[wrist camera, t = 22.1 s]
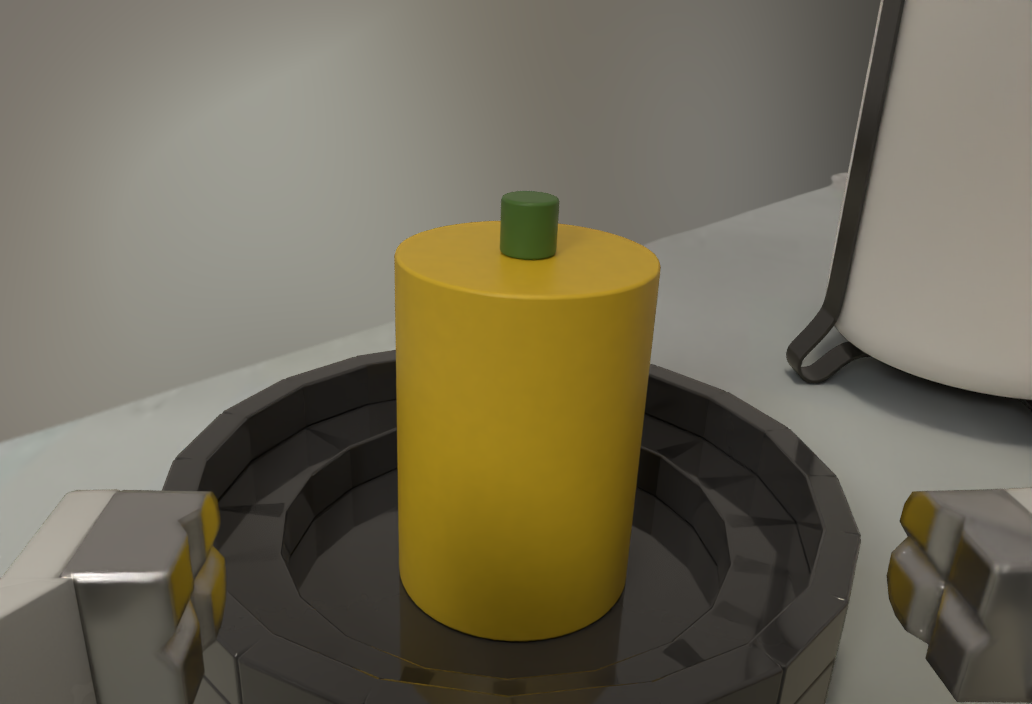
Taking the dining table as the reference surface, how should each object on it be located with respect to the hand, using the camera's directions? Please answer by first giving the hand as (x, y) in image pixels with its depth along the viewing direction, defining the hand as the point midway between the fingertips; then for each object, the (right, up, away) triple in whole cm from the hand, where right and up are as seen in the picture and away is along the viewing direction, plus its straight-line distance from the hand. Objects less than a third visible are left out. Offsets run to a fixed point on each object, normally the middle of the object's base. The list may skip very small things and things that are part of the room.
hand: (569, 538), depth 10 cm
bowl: (-1, -4, +11) cm, 12 cm away
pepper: (-1, -3, +11) cm, 12 cm away
